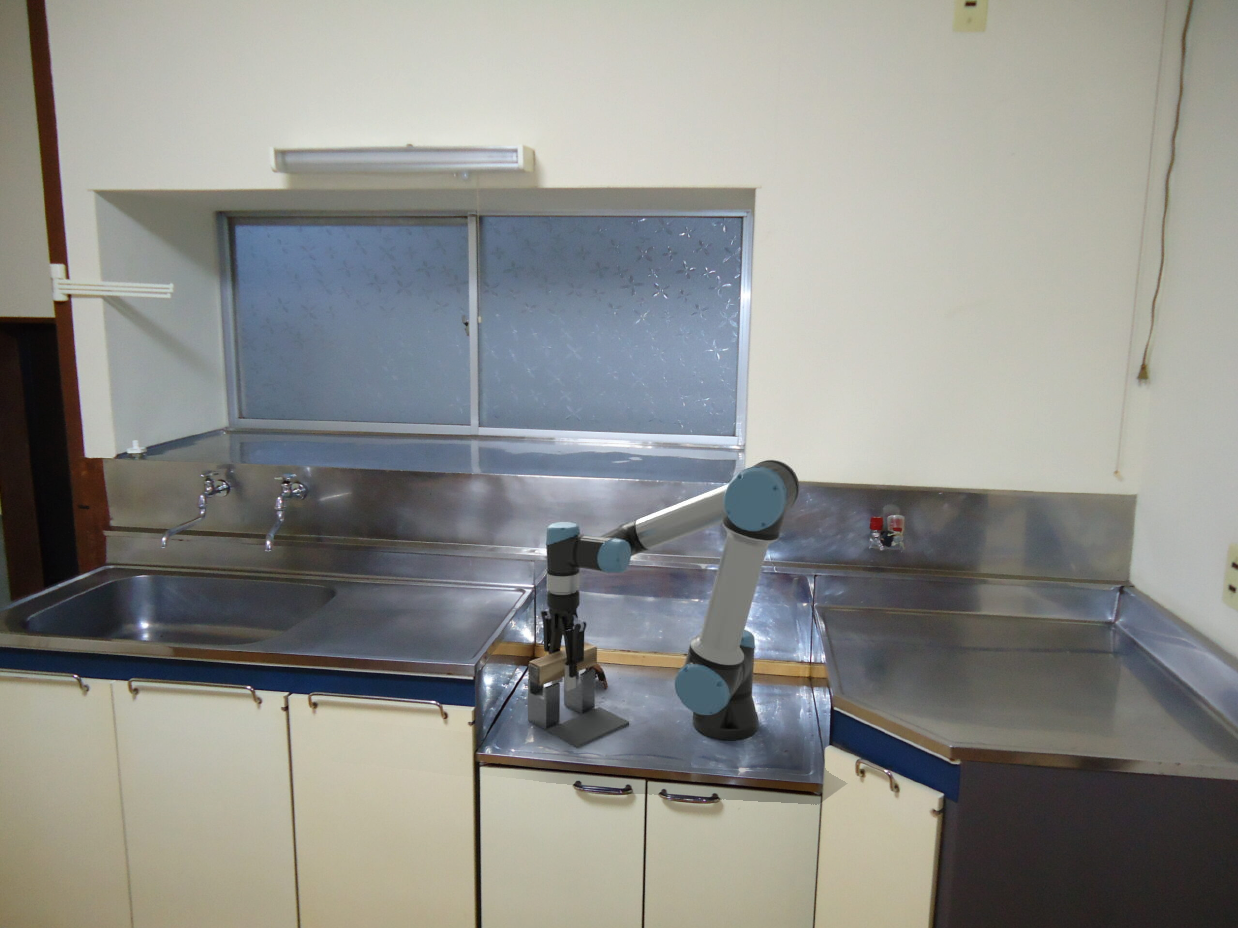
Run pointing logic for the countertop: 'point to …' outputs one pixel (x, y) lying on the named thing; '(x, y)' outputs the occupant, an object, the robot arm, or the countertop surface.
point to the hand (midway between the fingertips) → (563, 685)
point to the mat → (588, 727)
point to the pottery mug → (598, 674)
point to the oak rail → (558, 665)
